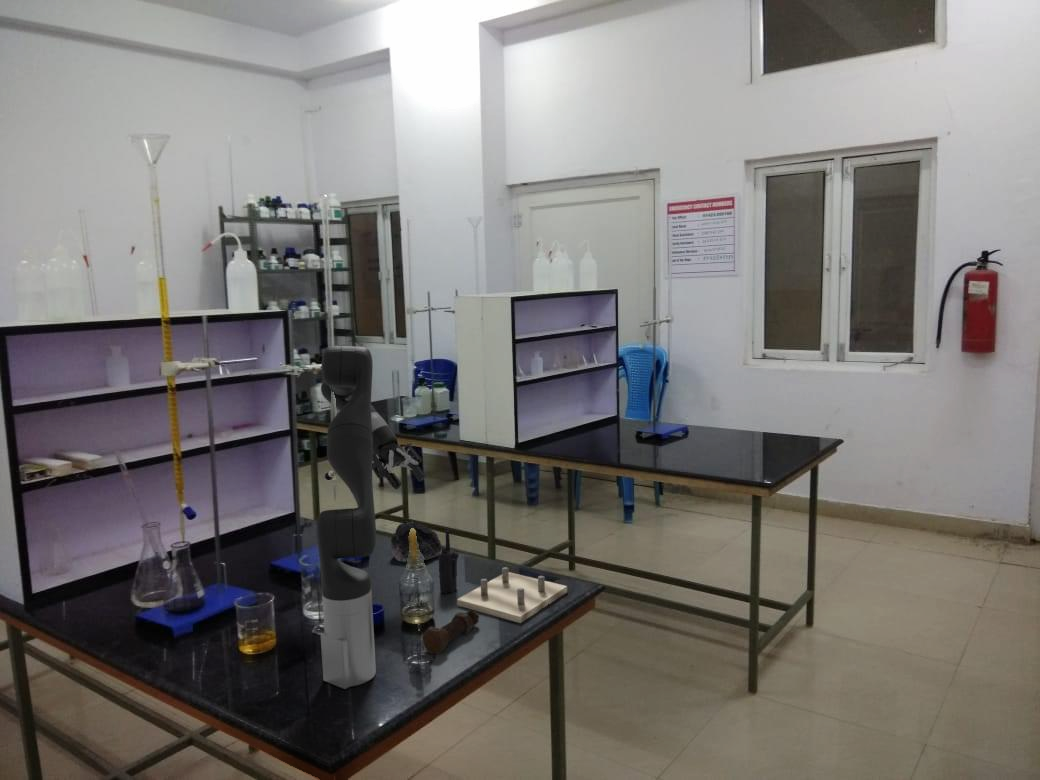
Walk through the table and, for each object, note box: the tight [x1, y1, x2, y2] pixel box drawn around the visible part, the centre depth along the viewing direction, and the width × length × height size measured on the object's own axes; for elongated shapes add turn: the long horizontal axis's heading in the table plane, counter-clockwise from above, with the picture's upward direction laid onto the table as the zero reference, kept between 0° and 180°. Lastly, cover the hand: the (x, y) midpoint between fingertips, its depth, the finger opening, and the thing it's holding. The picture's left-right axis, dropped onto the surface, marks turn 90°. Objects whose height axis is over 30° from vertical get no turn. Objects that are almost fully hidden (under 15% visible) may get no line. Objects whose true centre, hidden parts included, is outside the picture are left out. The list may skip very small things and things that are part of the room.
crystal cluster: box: [390, 521, 442, 563], centre depth 214 cm, size 13×14×10 cm
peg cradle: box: [456, 566, 568, 624], centre depth 184 cm, size 20×18×5 cm
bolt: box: [422, 609, 480, 655], centre depth 164 cm, size 6×5×15 cm
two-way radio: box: [438, 529, 459, 594], centre depth 189 cm, size 6×4×15 cm
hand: (410, 483), depth 193 cm, fingers open, 8 cm apart
